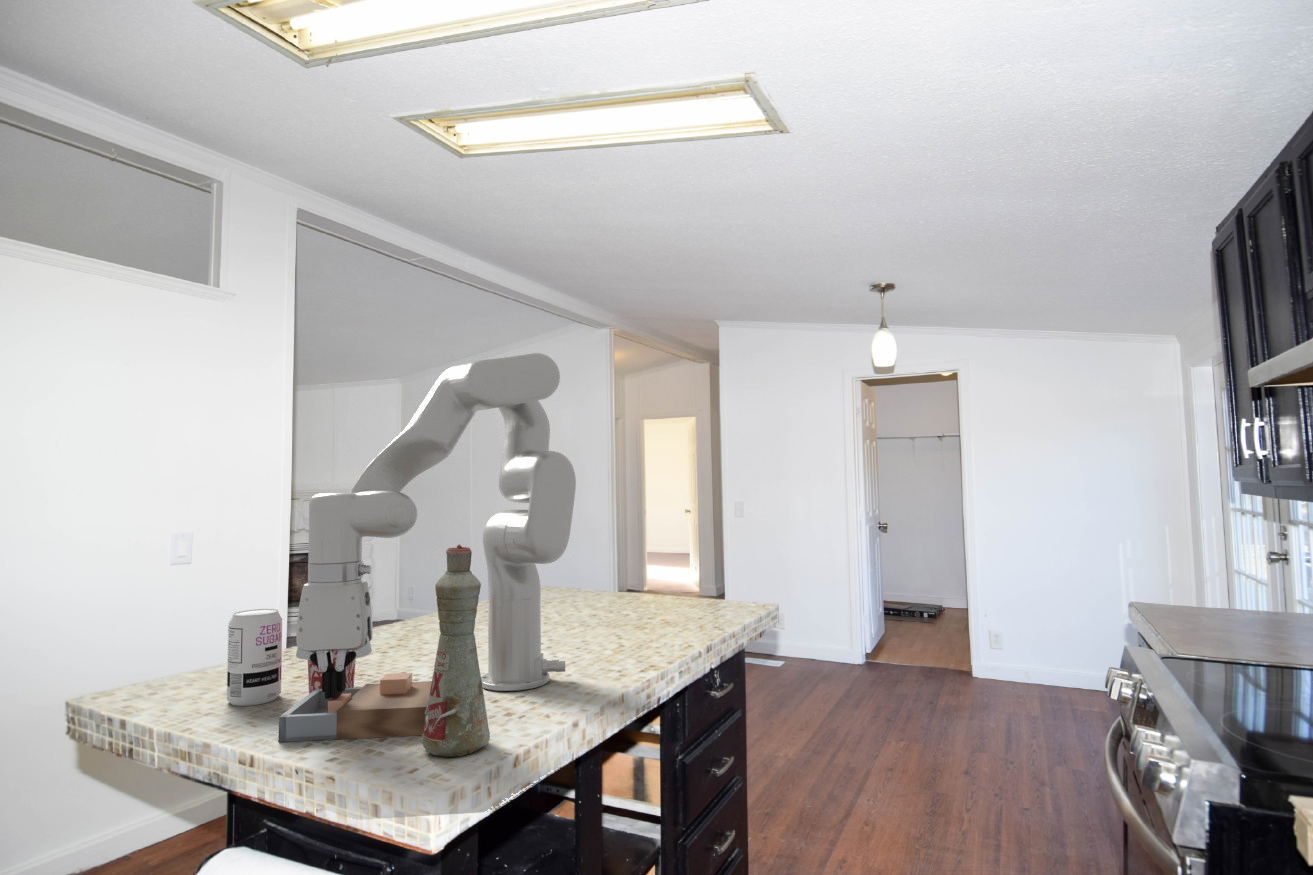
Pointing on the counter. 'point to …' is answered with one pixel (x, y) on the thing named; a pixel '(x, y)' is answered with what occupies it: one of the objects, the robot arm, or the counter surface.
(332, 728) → the box
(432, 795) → the counter surface
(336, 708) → the tile
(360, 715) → the brown square platform
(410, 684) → the tile
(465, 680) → the bottle
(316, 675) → the mug
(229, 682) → the supplement can
